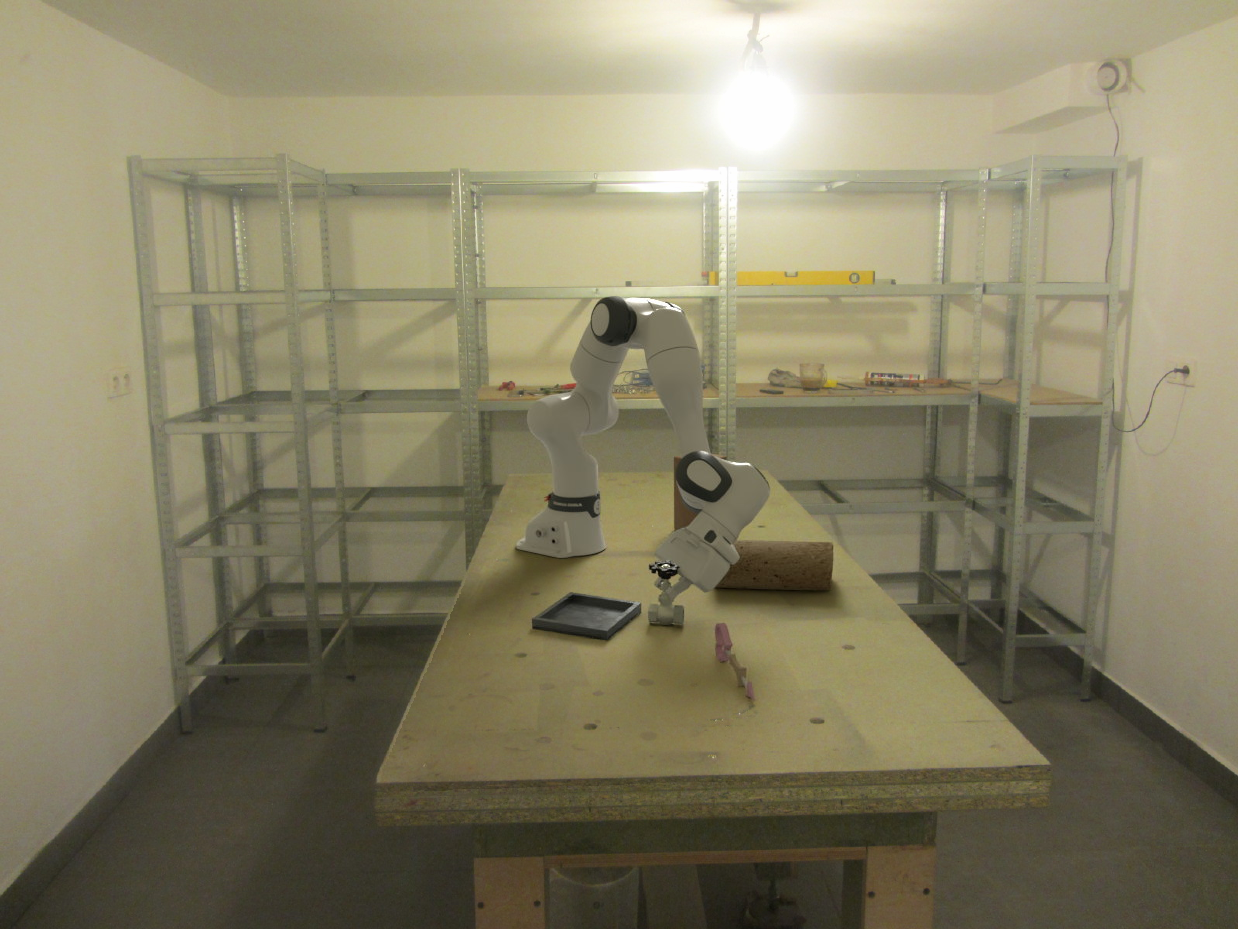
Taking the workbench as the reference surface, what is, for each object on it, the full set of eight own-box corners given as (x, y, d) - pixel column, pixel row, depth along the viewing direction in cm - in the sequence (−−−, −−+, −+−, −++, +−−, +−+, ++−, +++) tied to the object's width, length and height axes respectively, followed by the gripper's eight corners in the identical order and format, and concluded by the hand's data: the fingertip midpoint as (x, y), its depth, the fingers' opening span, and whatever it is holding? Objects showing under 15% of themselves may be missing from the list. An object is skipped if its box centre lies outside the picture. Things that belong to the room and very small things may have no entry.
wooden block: (700, 538, 232) (700, 461, 228) (673, 530, 239) (672, 456, 235) (727, 530, 239) (727, 456, 234) (699, 523, 246) (699, 450, 242)
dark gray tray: (532, 628, 174) (531, 618, 174) (570, 601, 189) (570, 592, 188) (607, 641, 168) (606, 631, 167) (641, 611, 182) (641, 602, 182)
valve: (680, 631, 172) (680, 571, 169) (646, 629, 173) (645, 569, 171) (685, 618, 178) (685, 560, 176) (652, 617, 179) (651, 559, 177)
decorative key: (749, 720, 143) (713, 651, 162) (756, 719, 144) (720, 650, 162) (752, 684, 141) (715, 618, 159) (760, 683, 141) (722, 617, 160)
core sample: (711, 572, 206) (711, 530, 204) (830, 576, 202) (832, 533, 200) (709, 594, 192) (709, 549, 190) (837, 598, 188) (838, 552, 186)
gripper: (675, 514, 184) (631, 566, 182) (722, 541, 165) (674, 599, 164) (695, 533, 186) (652, 584, 185) (744, 561, 167) (696, 619, 166)
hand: (663, 592), depth 174 cm, fingers open, 4 cm apart
